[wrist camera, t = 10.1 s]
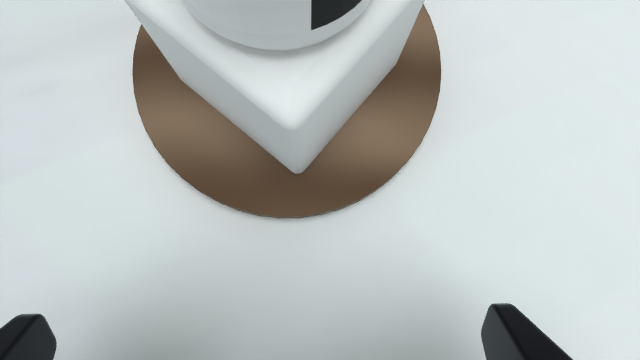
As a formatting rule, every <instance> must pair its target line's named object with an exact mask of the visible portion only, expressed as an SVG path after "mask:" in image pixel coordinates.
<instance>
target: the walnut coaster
mask: <svg viewBox="0 0 640 360" xmlns="http://www.w3.org/2000/svg"><path fill="white" fill-rule="evenodd" d="M440 81H441V61H440V51H439V46H438V41H437V36H436V33H435V30H434V27H433V24H432V21H431V19H430V16H429V14H428V12H427V10H426V8H425V6H424V4H423V5H422V7H421V9H420V12H419V14H418V16H417V18H416V21H415V23H414V25H413V27H412V30H411V32H410V34H409V36H408V39H407V41H406V43H405V45H404V48H403V50H402V52H401V54H400V57H399V59H398V61H397V63H396V65H395V66H394V67H393V68H392V69H391V71H390V72H389V73H388V74H387V75H386V76H385V78H384V79H383V80H382V81H381V82H380V83H379V85H378V86H377V87H376V88H375V89H374V90H373V91H372V93H371V94H370V95H369V96H368V97H367V98H366V100H365V101H364V102H363V103H362V104H361V105H360V107H359V108H358V109H357V110H356V111H355V112H354V114H353V115H352V116H351V117H350V118H349V119H348V121H347V122H346V123H345V124H344V125H343V126H342V128H341V129H340V130H339V131H338V132H337V133H336V135H335V136H334V137H333V138H332V139H331V140H330V141H329V143H328V144H327V145H326V146H325V147H324V148H323V150H322V151H321V152H320V153H319V154H318V155H317V157H316V158H315V159H314V160H313V161H312V162H311V164H310V165H309V166H308V167H307V168H306V169H305V171H303V172H302V173H299V174H295V173H293V172H291V171H290V170H289V169H288V168H287V167H285V166H284V165H283V164H282V163H281V162H279V161H278V160H277V159H276V158H275V157H273V156H272V155H271V154H270V153H269V152H267V151H266V150H265V149H264V148H262V147H261V146H260V145H259V144H258V143H256V142H255V141H254V140H253V139H252V138H250V137H249V136H248V135H247V134H246V133H244V132H243V131H242V130H241V129H240V128H238V127H237V126H236V125H235V124H233V123H232V122H231V121H230V120H229V119H227V118H226V117H225V116H224V115H223V114H221V113H220V112H219V111H218V110H217V109H215V108H214V107H213V106H212V105H211V104H209V103H208V102H207V101H206V100H205V99H203V98H202V97H201V96H200V95H198V94H197V93H196V92H195V91H194V90H192V89H191V88H190V87H189V86H188V85H186V84H185V83H184V82H183V81H182V80H181V79H180V78H179V76H178V75H177V74H176V72H175V71H174V69H173V68H172V66H171V65H170V64H169V62H168V61H167V59H166V58H165V57H164V55H163V54H162V52H161V51H160V49H159V48H158V47H157V45H156V44H155V42H154V41H153V40H152V38H151V37H150V35H149V34H148V33H147V31H146V30H145V28H144V27H143V25H142V24H141V27H140V30H139V32H138V35H137V40H136V45H135V50H134V57H133V85H134V94H135V98H136V103H137V107H138V111H139V114H140V117H141V119H142V122H143V125H144V127H145V130H146V131H147V133H148V135H149V137H150V139H151V140H152V142H153V144H154V146H155V148H156V149H157V150H158V151H159V153H160V154H161V155H162V157H163V158H164V159H165V161H166V162H167V163H168V164H169V165H170V166H171V167H172V168H173V169H174V170H175V171H176V172H177V173H178V174H179V175H180V176H181V177H182V178H183V179H184V180H186V181H187V182H188V183H190V184H191V185H192V186H194V187H195V188H196V189H198V190H199V191H201V192H202V193H204V194H205V195H207V196H209V197H211V198H213V199H214V200H216V201H218V202H220V203H222V204H224V205H227V206H229V207H232V208H234V209H237V210H239V211H243V212H247V213H251V214H255V215H259V216H266V217H275V218H302V217H309V216H316V215H322V214H325V213H329V212H332V211H336V210H339V209H342V208H344V207H346V206H349V205H351V204H353V203H356V202H358V201H360V200H361V199H363V198H365V197H366V196H368V195H370V194H371V193H373V192H375V191H376V190H377V189H379V188H380V187H381V186H382V185H384V184H385V183H386V182H387V181H389V180H390V179H391V178H392V177H393V176H394V175H395V174H396V173H397V172H398V171H399V170H400V169H401V168H402V167H403V166H404V164H405V163H406V162H407V161H408V160H409V159H410V158H411V156H412V155H413V153H414V152H415V151H416V149H417V148H418V146H419V145H420V144H421V142H422V140H423V138H424V136H425V134H426V132H427V130H428V128H429V126H430V124H431V121H432V118H433V115H434V113H435V110H436V106H437V101H438V96H439V92H440Z"/></svg>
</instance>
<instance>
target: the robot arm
mask: <svg viewBox="0 0 640 360" xmlns="http://www.w3.org/2000/svg"><path fill="white" fill-rule="evenodd" d="M481 337H482V343H483V347H484V351H485V355H486V360H573V359H572V358H571V357H570V356H568V355H567V354H566V353H565V352H564V351H563V350H562V349H561V348H560V347H559V346H558V345H556V344H555V343H554V342H553V341H552V340H551V339H550V338H549V337H548V336H547V335H545V334H544V333H543V332H542V331H541V330H540V329H539V328H538V327H537V326H536V325H535V324H533V323H532V322H531V321H530V320H529V319H528V318H527V317H526V316H525V315H524V314H522V313H521V312H520V311H519V310H518V309H517V308H516V307H515V306H513V305H512V304H508V303H499V304H491V305H490V306H489V308H488V311H487V314H486V317H485V320H484V323H483V326H482V330H481ZM55 351H56V338H55V336H54V334H53V332H52V330H51V329H50V327H49V325H48V323H47V321H46V319H45V317H44V316H43V315H41V314H21V315H18V316H16V317H15V318H13V319H12V320H11V321H9V322H8V323H7V324H6V325H4V326H3V327H2V328H0V360H53V358H54V355H55Z"/></svg>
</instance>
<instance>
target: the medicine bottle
mask: <svg viewBox="0 0 640 360" xmlns="http://www.w3.org/2000/svg"><path fill="white" fill-rule="evenodd" d="M125 1H126V3H127V4H128V6H129V7H130V9H131V10H132V11H133V13H134V14H135V16H136V17H137V18H138V20H139V21H140V23H141V24H142V25H143V27H144V28H145V30H146V31H147V33H148V34H149V35H150V37H151V38H152V40H153V41H154V42H155V44H156V45H157V47H158V48H159V49H160V51H161V52H162V54H163V55H164V57H165V58H166V59H167V61H168V62H169V64H170V65H171V66H172V68H173V69H174V71H175V72H176V74H177V75H178V76H179V78H180V79H181V80H182V81H183V82H184V83H185V84H186V85H188V86H189V87H190V88H191V89H192V90H194V91H195V92H196V93H197V94H198V95H200V96H201V97H202V98H203V99H205V100H206V101H207V102H208V103H209V104H211V105H212V106H213V107H214V108H215V109H217V110H218V111H219V112H220V113H221V114H223V115H224V116H225V117H226V118H227V119H229V120H230V121H231V122H232V123H233V124H235V125H236V126H237V127H238V128H240V129H241V130H242V131H243V132H244V133H246V134H247V135H248V136H249V137H250V138H252V139H253V140H254V141H255V142H256V143H258V144H259V145H260V146H261V147H262V148H264V149H265V150H266V151H267V152H269V153H270V154H271V155H272V156H273V157H275V158H276V159H277V160H278V161H279V162H281V163H282V164H283V165H284V166H285V167H287V168H288V169H289V170H290V171H291V172H293V173H295V174H299V173H302V172H303V171H305V169H306V168H307V167H308V166H309V165H310V164H311V162H312V161H313V160H314V159H315V158H316V157H317V155H318V154H319V153H320V152H321V151H322V150H323V148H324V147H325V146H326V145H327V144H328V143H329V141H330V140H331V139H332V138H333V137H334V136H335V135H336V133H337V132H338V131H339V130H340V129H341V128H342V126H343V125H344V124H345V123H346V122H347V121H348V119H349V118H350V117H351V116H352V115H353V114H354V112H355V111H356V110H357V109H358V108H359V107H360V105H361V104H362V103H363V102H364V101H365V100H366V98H367V97H368V96H369V95H370V94H371V93H372V91H373V90H374V89H375V88H376V87H377V86H378V85H379V83H380V82H381V81H382V80H383V79H384V78H385V76H386V75H387V74H388V73H389V72H390V71H391V69H392V68H393V67H394V66H395V65H396V63H397V61H398V59H399V57H400V54H401V52H402V50H403V48H404V45H405V43H406V41H407V39H408V36H409V34H410V32H411V30H412V27H413V25H414V23H415V21H416V18H417V16H418V14H419V12H420V9H421V7H422V5H423V3H424V0H125Z"/></svg>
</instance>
